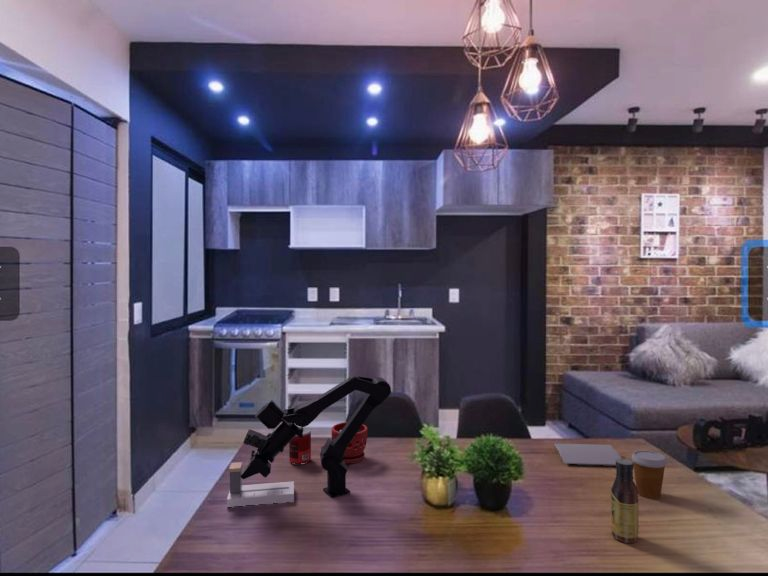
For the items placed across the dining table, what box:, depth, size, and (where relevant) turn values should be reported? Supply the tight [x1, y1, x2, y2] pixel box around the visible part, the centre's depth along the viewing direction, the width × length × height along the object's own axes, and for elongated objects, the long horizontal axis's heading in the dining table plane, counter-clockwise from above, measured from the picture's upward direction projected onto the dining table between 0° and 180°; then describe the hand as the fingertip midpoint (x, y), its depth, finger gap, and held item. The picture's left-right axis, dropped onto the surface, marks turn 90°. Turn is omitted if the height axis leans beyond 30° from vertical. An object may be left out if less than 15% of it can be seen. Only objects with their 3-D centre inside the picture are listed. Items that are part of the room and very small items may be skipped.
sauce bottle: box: [610, 458, 639, 544], centre depth 123 cm, size 6×6×20 cm
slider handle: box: [228, 461, 243, 494], centre depth 145 cm, size 3×5×8 cm
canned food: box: [288, 427, 312, 464], centre depth 176 cm, size 8×8×11 cm
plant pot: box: [331, 421, 368, 464], centre depth 177 cm, size 13×13×12 cm
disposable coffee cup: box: [630, 449, 668, 500], centre depth 148 cm, size 10×10×12 cm
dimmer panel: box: [226, 481, 295, 508], centre depth 146 cm, size 19×9×3 cm, turn 100°
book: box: [553, 443, 623, 467], centre depth 177 cm, size 15×23×4 cm, turn 85°
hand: (242, 477), depth 145 cm, fingers closed, pressing on slider handle
